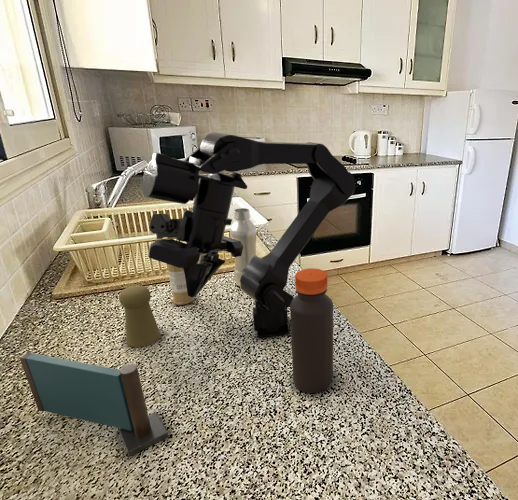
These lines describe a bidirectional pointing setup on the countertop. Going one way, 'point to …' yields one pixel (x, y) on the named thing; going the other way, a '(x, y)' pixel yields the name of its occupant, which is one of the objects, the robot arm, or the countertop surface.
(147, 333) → the olive brown knobbed cone
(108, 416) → the door
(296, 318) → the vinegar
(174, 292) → the sprinkles bottle
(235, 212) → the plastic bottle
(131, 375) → the hinge post
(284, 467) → the countertop surface
